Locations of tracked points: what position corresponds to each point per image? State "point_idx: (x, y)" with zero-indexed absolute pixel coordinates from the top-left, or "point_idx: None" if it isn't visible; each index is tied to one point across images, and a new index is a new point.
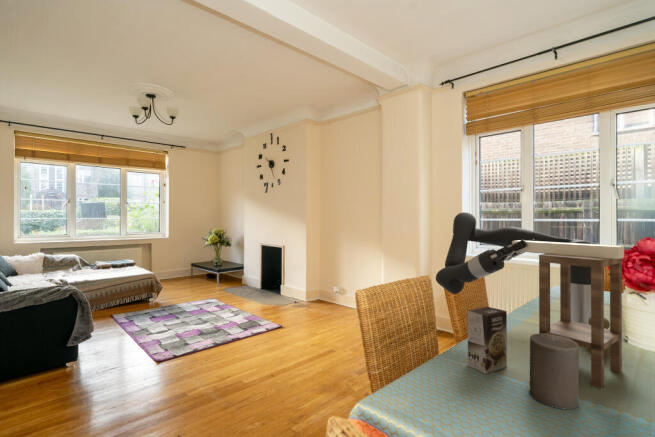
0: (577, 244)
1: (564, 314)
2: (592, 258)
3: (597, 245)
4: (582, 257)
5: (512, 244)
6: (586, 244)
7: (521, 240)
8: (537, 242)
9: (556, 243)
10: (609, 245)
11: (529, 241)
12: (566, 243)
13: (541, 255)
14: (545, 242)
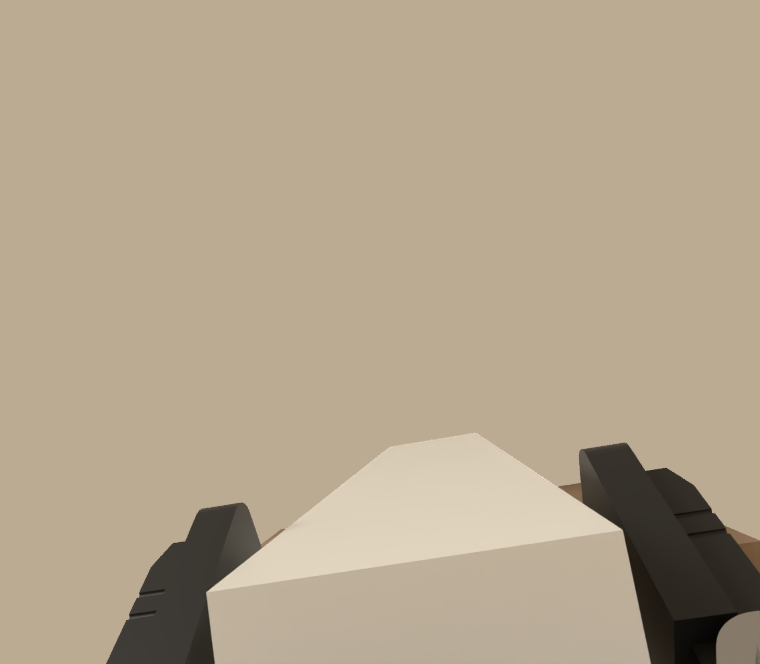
0: (466, 445)
1: None
2: (579, 491)
3: (452, 441)
4: (581, 500)
5: (641, 639)
6: (423, 450)
7: (631, 450)
8: (526, 466)
9: (499, 451)
10: (407, 446)
11: (440, 499)
12: (433, 457)
13: (750, 540)
14: (455, 470)
